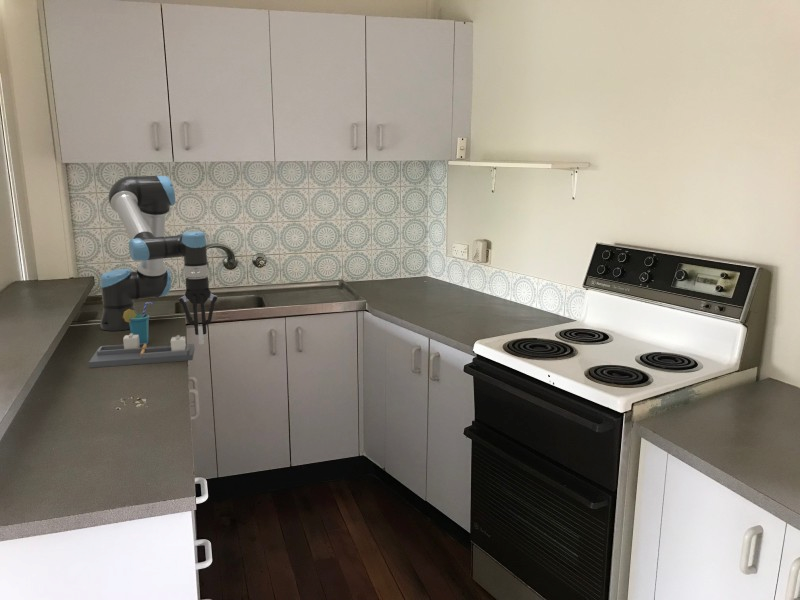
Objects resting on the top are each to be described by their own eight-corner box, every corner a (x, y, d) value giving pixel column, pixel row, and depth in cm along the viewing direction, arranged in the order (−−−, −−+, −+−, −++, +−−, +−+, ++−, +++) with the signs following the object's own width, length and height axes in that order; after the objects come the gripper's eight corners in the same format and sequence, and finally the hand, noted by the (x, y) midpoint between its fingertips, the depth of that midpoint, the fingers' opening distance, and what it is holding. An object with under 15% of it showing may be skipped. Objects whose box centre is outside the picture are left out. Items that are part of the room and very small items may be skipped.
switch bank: (97, 355, 238) (96, 346, 237) (194, 348, 245) (193, 339, 244) (89, 367, 224) (88, 357, 224) (192, 360, 232) (191, 350, 231)
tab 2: (172, 351, 235) (171, 335, 234) (186, 350, 236) (185, 334, 235) (171, 354, 231) (170, 338, 230) (185, 353, 232) (184, 337, 231)
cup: (147, 337, 261) (144, 299, 258) (163, 339, 258) (160, 301, 255) (120, 347, 248) (116, 307, 245) (136, 349, 245) (133, 309, 242)
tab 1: (126, 349, 238) (124, 333, 237) (139, 348, 239) (138, 332, 238) (124, 352, 234) (122, 336, 233) (138, 351, 235) (136, 335, 234)
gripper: (176, 280, 225) (181, 347, 230) (216, 278, 228) (220, 344, 233) (177, 276, 232) (182, 341, 237) (216, 274, 235) (220, 339, 240)
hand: (201, 343), depth 235 cm, fingers closed
